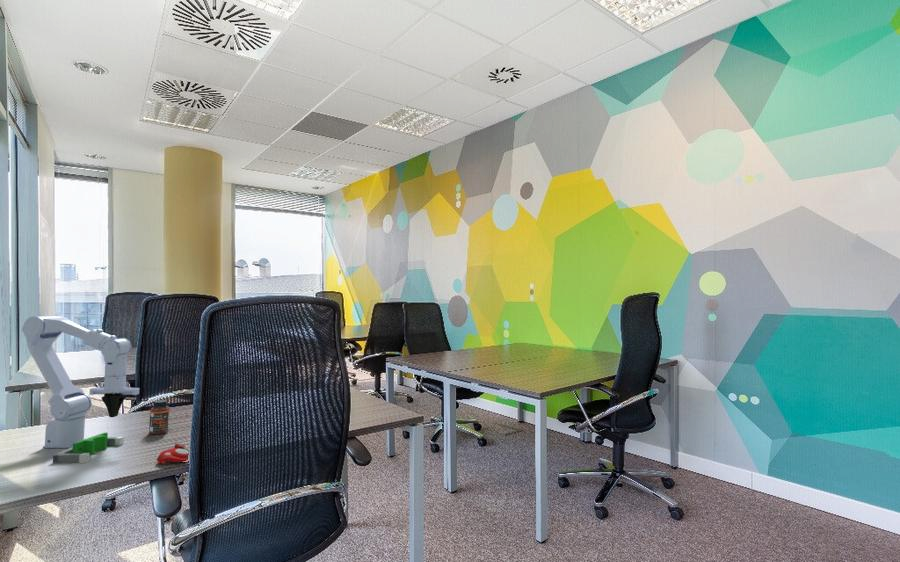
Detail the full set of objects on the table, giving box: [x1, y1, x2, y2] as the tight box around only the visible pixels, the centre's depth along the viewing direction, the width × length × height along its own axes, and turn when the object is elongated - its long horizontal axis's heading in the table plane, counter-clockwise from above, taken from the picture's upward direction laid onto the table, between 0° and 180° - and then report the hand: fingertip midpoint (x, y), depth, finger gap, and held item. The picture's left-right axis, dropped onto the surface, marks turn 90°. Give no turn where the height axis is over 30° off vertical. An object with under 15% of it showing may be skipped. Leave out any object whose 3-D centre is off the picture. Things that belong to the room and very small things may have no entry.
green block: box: [72, 432, 109, 456], centre depth 140 cm, size 11×4×5 cm, turn 175°
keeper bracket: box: [52, 436, 125, 464], centre depth 139 cm, size 9×17×2 cm, turn 4°
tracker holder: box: [156, 441, 190, 465], centre depth 135 cm, size 12×4×10 cm
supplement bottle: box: [148, 399, 171, 435], centre depth 161 cm, size 6×6×11 cm
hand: (113, 416), depth 146 cm, fingers closed
